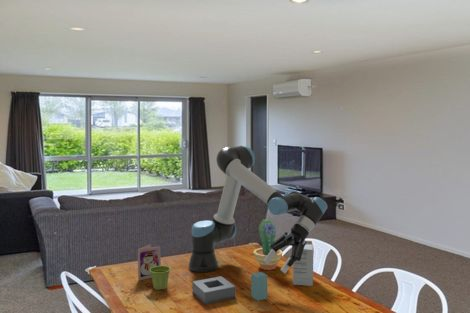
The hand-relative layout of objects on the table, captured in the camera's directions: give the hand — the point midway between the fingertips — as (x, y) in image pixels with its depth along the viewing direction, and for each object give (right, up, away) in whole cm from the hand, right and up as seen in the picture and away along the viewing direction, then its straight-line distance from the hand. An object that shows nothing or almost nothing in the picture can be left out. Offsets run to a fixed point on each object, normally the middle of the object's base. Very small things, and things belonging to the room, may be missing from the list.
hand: (273, 267), depth 180 cm
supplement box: (+15, -11, +16) cm, 25 cm away
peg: (-6, -13, -1) cm, 14 cm away
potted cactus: (+1, -10, +38) cm, 39 cm away
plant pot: (-50, -12, +11) cm, 53 cm away
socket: (-26, -13, +1) cm, 29 cm away
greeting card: (-59, -11, +25) cm, 65 cm away
